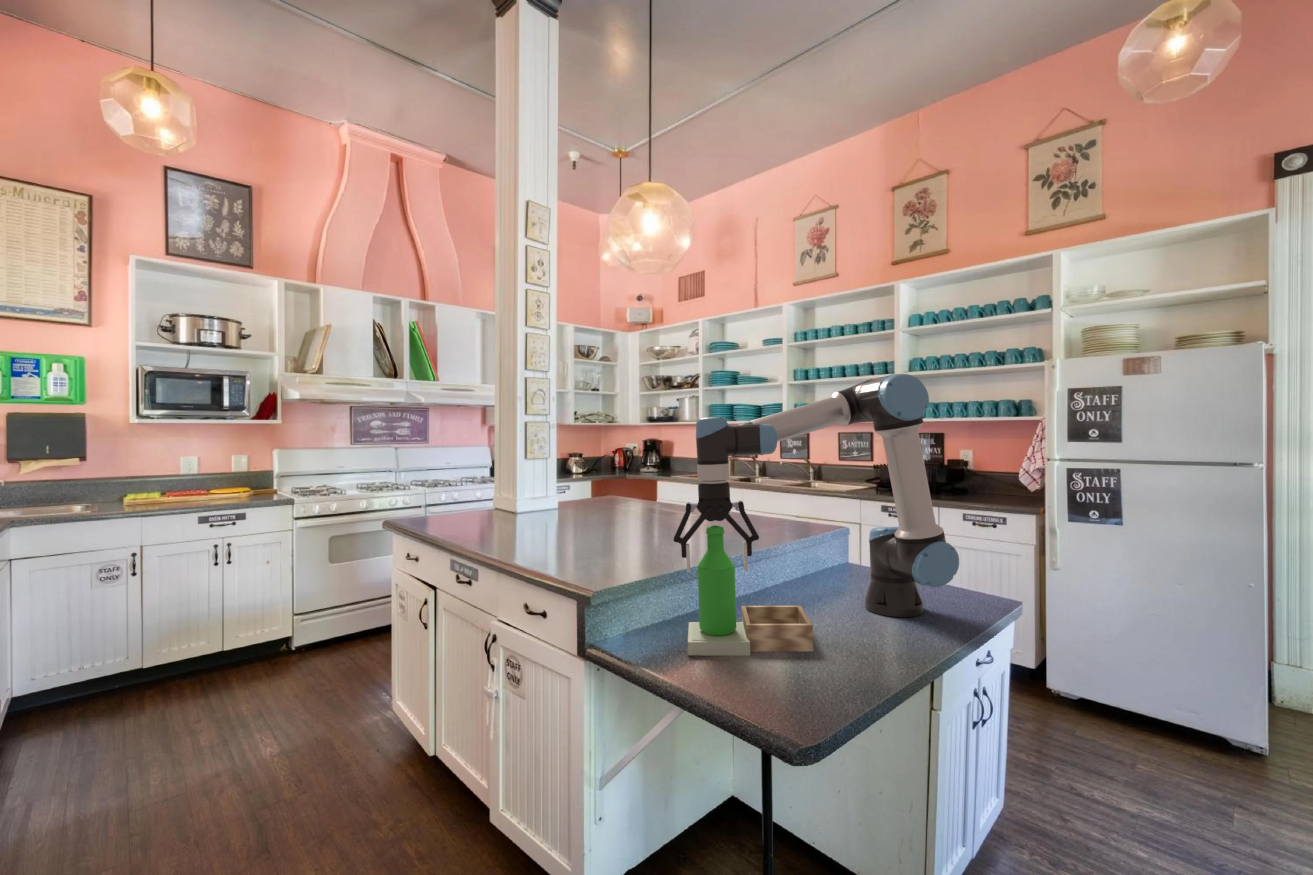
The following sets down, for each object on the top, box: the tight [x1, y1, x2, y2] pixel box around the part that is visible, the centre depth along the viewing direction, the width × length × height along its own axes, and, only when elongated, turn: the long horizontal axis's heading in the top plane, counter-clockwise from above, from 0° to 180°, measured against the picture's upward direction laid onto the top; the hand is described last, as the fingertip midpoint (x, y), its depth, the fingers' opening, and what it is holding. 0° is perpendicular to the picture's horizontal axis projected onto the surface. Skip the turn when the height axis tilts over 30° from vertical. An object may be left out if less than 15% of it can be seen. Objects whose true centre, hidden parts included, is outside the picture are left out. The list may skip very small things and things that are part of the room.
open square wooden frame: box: [740, 605, 814, 652], centre depth 135 cm, size 15×15×6 cm
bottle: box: [697, 524, 737, 636], centre depth 134 cm, size 9×9×25 cm
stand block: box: [687, 621, 751, 657], centre depth 133 cm, size 14×14×3 cm
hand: (717, 570), depth 134 cm, fingers open, 13 cm apart
